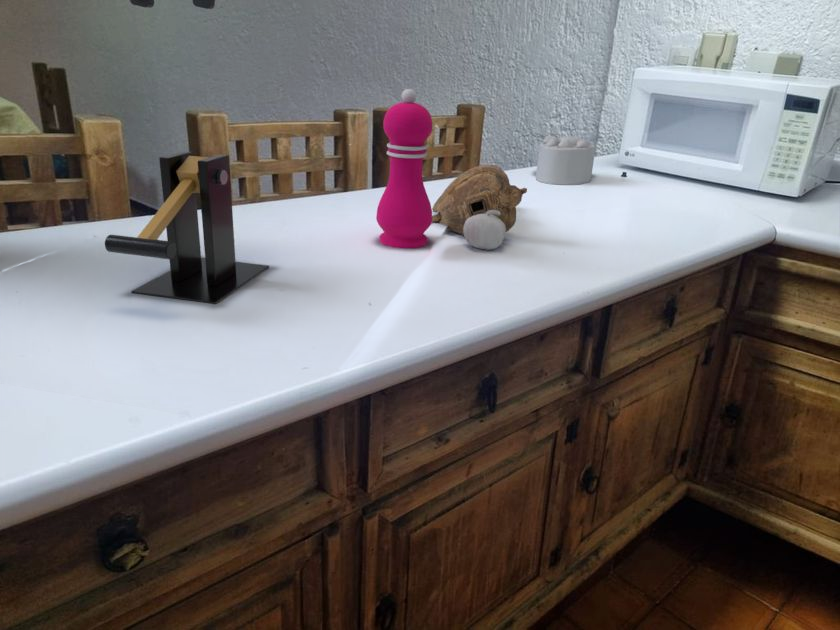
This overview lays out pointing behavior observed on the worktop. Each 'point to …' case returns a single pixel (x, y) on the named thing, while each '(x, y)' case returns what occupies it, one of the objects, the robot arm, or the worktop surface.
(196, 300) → the bracket
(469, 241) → the garlic
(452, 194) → the brown wooden birdhouse
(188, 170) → the lever
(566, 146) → the lumpy-topped squat cylinder
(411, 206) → the pepper mill
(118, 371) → the worktop surface
